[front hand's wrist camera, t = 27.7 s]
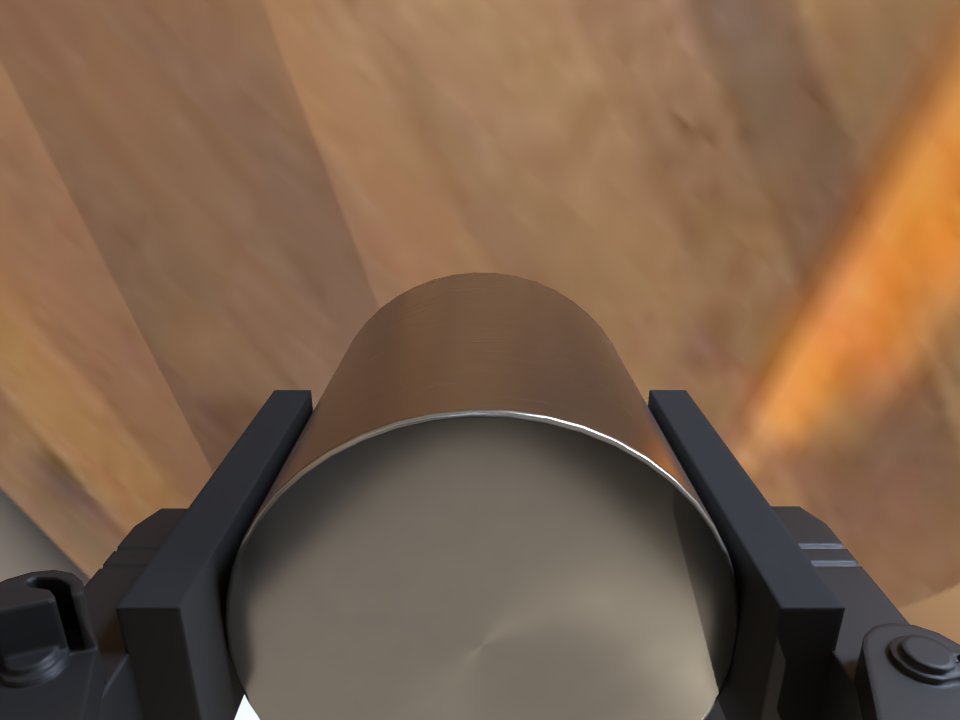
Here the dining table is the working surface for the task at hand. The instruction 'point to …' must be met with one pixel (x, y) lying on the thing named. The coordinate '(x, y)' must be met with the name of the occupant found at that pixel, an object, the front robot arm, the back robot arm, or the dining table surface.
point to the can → (482, 531)
